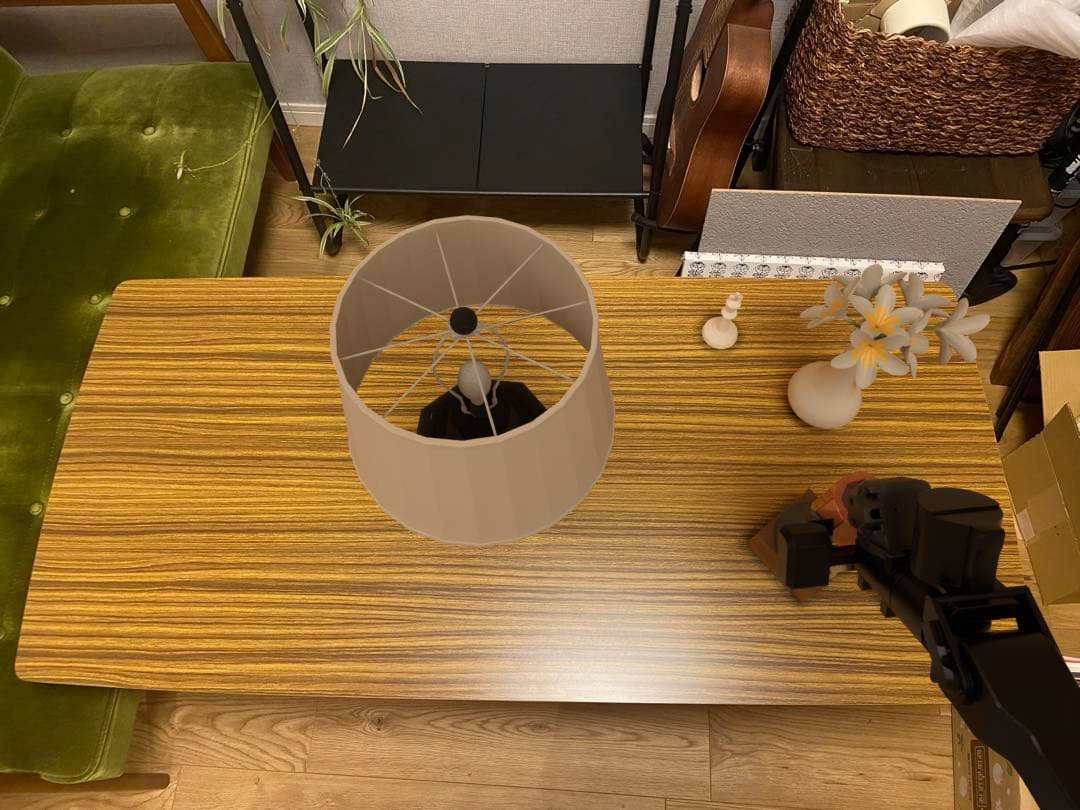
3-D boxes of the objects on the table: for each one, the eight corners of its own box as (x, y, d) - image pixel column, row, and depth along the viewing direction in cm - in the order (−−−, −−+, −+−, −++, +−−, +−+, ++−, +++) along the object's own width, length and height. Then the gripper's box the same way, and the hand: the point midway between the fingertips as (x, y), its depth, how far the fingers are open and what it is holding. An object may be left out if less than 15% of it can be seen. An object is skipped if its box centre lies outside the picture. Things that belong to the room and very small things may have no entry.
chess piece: (738, 349, 98) (759, 310, 89) (703, 348, 98) (720, 309, 89) (735, 319, 100) (754, 277, 91) (700, 318, 100) (716, 277, 91)
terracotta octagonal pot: (871, 515, 76) (906, 491, 69) (852, 563, 74) (885, 544, 66) (818, 488, 77) (847, 462, 70) (798, 534, 75) (825, 512, 68)
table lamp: (563, 365, 97) (576, 146, 61) (630, 552, 86) (694, 420, 50) (369, 417, 94) (262, 217, 58) (413, 618, 83) (314, 528, 47)
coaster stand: (850, 556, 86) (870, 545, 81) (799, 603, 83) (816, 594, 78) (796, 500, 89) (811, 486, 84) (745, 544, 86) (758, 532, 81)
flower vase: (902, 438, 92) (1020, 342, 70) (766, 456, 91) (840, 365, 69) (868, 352, 98) (968, 237, 75) (739, 368, 97) (801, 257, 74)
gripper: (1044, 499, 58) (931, 429, 72) (821, 521, 57) (752, 446, 71) (1022, 613, 61) (919, 525, 76) (813, 635, 61) (749, 542, 75)
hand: (837, 508), depth 75 cm, fingers closed on terracotta octagonal pot, 6 cm apart
